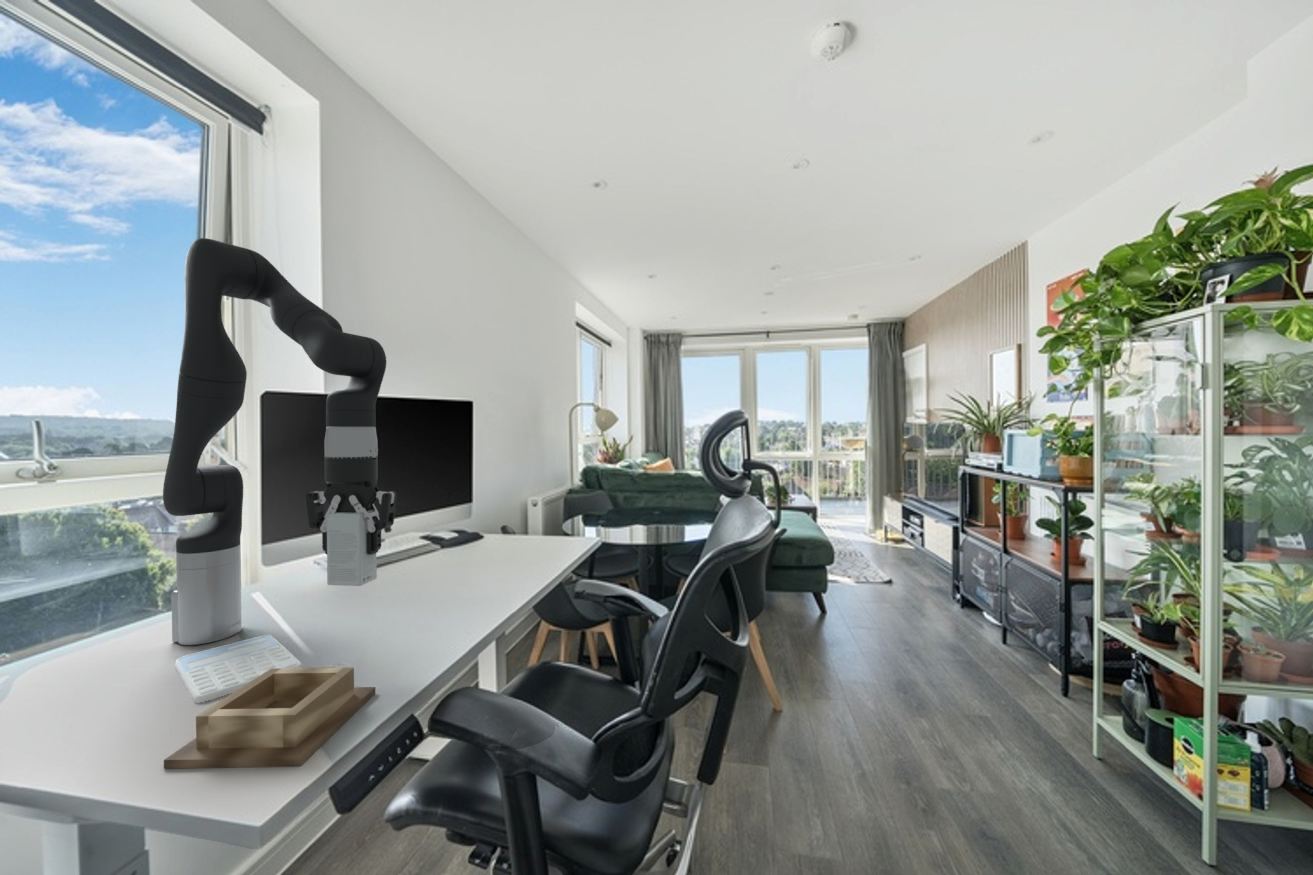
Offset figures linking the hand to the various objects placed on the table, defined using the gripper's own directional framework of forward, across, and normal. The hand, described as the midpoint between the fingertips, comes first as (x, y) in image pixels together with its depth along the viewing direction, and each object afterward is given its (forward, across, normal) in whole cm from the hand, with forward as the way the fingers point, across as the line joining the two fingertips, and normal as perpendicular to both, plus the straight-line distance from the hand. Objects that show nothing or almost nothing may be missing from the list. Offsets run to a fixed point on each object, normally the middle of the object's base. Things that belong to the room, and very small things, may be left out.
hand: (352, 553), depth 82 cm
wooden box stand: (+19, 0, -16) cm, 25 cm away
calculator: (+20, -20, +1) cm, 28 cm away
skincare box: (+5, 0, 0) cm, 5 cm away
